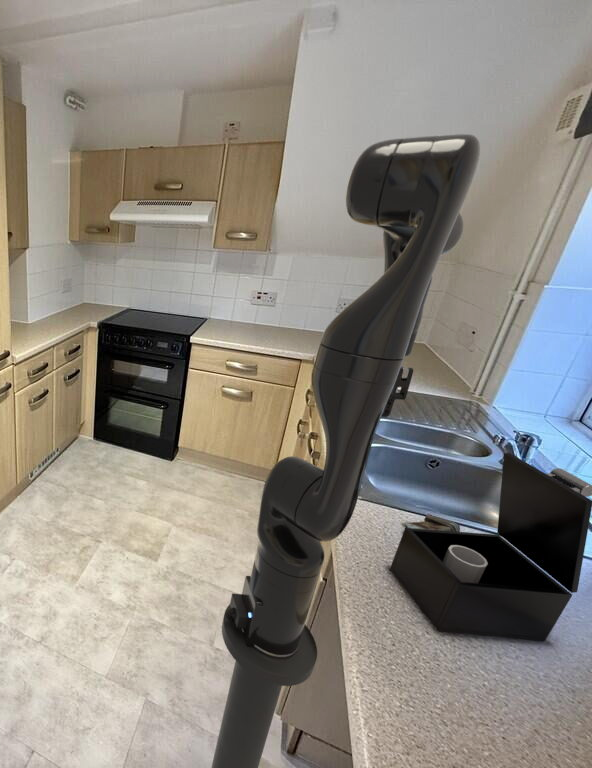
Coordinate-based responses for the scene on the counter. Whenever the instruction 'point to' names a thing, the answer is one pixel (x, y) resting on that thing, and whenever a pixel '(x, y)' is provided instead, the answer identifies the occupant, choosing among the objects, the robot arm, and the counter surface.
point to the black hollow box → (478, 586)
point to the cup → (465, 563)
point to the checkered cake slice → (435, 524)
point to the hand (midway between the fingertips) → (368, 406)
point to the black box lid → (545, 517)
